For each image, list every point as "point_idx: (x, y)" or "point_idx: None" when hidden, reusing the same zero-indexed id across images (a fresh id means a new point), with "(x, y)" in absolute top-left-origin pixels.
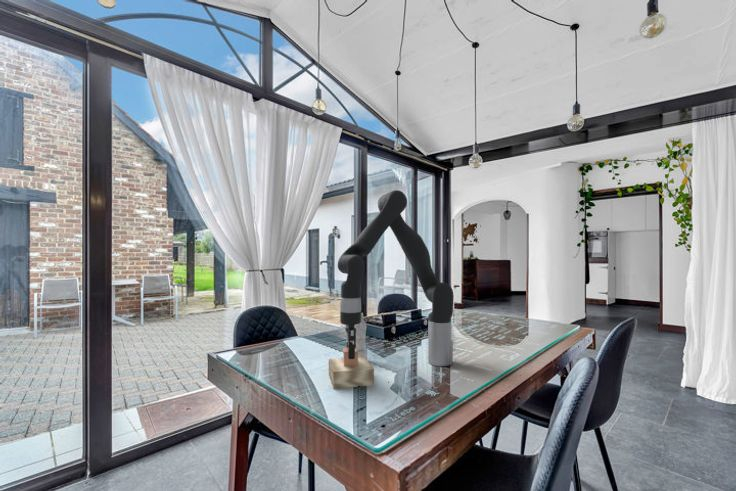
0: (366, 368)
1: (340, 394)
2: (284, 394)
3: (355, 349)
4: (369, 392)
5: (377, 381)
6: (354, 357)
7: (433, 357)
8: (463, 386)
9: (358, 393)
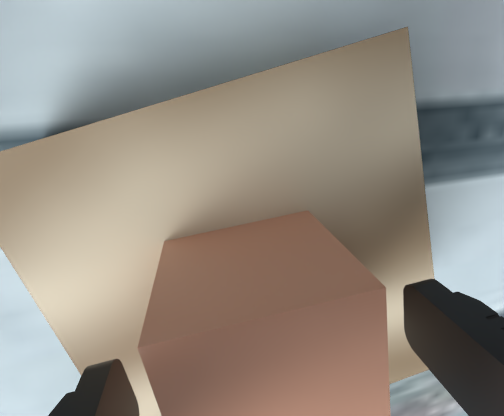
0: (391, 115)
1: (452, 245)
2: None
3: (269, 346)
4: (448, 81)
5: (261, 23)
6: (440, 285)
7: None
8: None
9: (453, 151)
